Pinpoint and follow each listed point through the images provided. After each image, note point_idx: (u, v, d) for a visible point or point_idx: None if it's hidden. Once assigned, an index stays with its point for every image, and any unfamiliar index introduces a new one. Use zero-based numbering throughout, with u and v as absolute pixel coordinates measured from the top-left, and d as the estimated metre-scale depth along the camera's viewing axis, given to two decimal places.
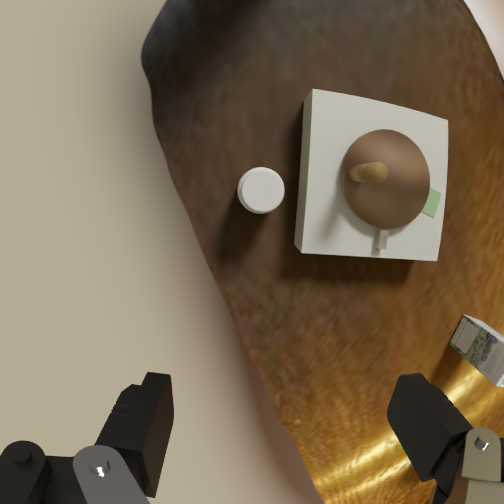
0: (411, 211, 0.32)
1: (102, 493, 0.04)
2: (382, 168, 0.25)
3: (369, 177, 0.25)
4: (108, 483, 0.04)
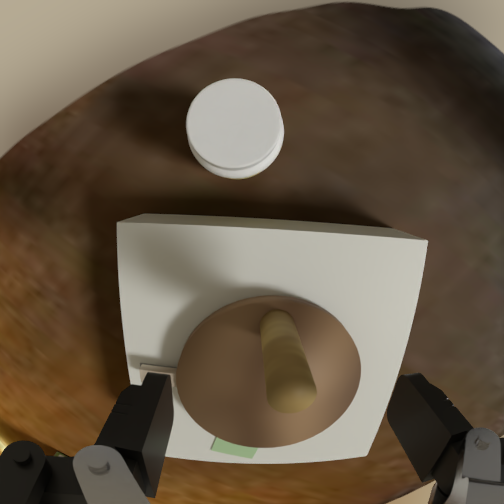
0: (214, 423, 0.17)
1: (102, 493, 0.04)
2: (301, 401, 0.10)
3: (277, 373, 0.10)
4: (108, 483, 0.04)
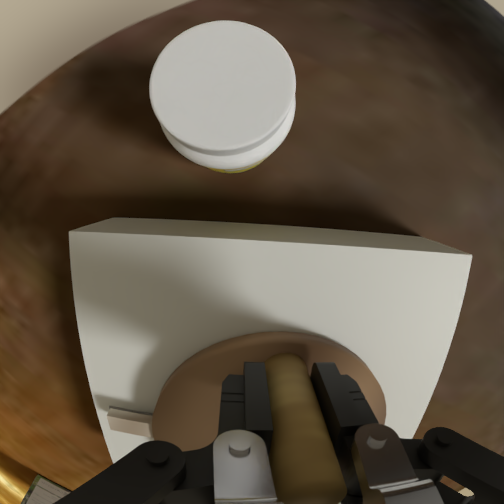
0: None
1: (257, 473, 0.05)
2: None
3: (289, 473, 0.06)
4: (243, 466, 0.05)
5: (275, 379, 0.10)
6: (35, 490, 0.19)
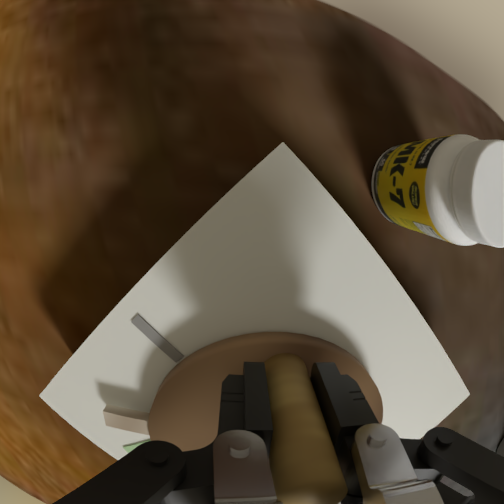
0: None
1: (256, 473, 0.05)
2: (323, 503, 0.06)
3: (291, 472, 0.06)
4: (242, 466, 0.05)
5: (276, 379, 0.10)
6: None
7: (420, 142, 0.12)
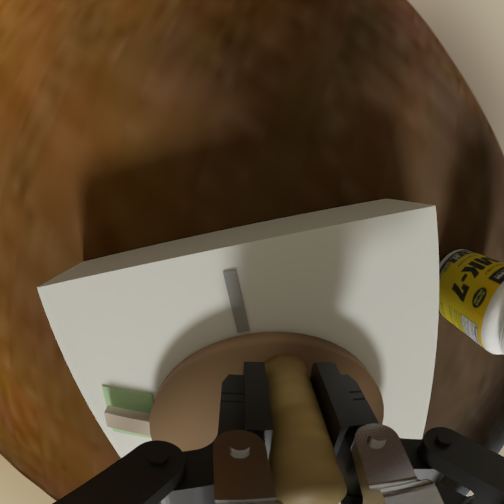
0: None
1: (257, 473, 0.05)
2: None
3: (290, 473, 0.06)
4: (242, 466, 0.05)
5: (276, 379, 0.10)
6: None
7: (495, 261, 0.14)
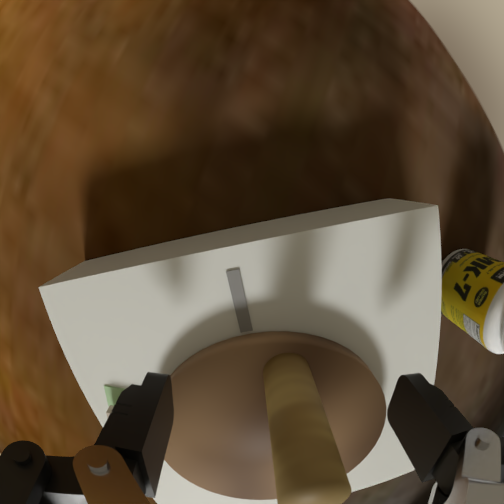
0: (200, 476, 0.13)
1: (102, 493, 0.04)
2: (327, 503, 0.06)
3: (295, 473, 0.06)
4: (108, 483, 0.04)
5: (279, 379, 0.10)
6: None
7: (497, 261, 0.14)
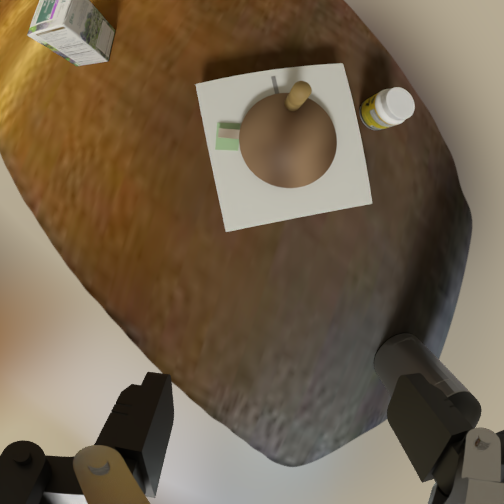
0: (256, 164, 0.33)
1: (102, 493, 0.04)
2: (306, 92, 0.26)
3: (296, 83, 0.26)
4: (108, 483, 0.04)
5: None
6: (109, 28, 0.31)
7: None
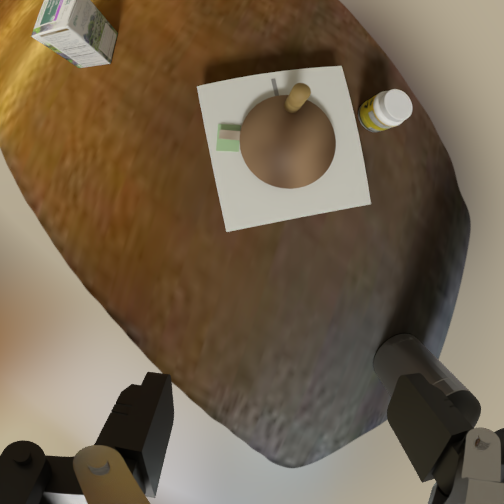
0: (257, 164, 0.34)
1: (102, 493, 0.04)
2: (305, 94, 0.27)
3: (295, 85, 0.27)
4: (108, 483, 0.04)
5: None
6: (111, 30, 0.32)
7: None
